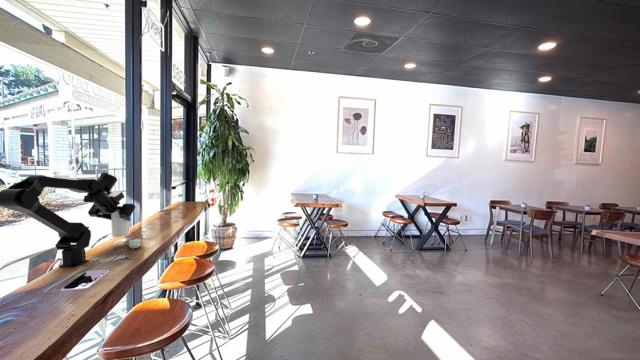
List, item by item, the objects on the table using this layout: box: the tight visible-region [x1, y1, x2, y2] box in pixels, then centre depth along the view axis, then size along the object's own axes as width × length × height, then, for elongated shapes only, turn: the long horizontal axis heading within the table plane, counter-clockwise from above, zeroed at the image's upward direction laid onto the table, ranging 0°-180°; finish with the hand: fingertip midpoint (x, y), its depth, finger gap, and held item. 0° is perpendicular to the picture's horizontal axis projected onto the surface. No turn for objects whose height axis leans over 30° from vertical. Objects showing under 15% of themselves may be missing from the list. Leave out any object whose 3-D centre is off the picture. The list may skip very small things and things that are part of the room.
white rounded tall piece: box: [110, 212, 131, 238], centre depth 134 cm, size 7×7×12 cm
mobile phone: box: [60, 269, 110, 292], centre depth 97 cm, size 8×1×15 cm
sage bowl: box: [128, 239, 142, 249], centre depth 131 cm, size 4×4×3 cm
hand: (122, 220), depth 135 cm, fingers closed on white rounded tall piece, 7 cm apart
